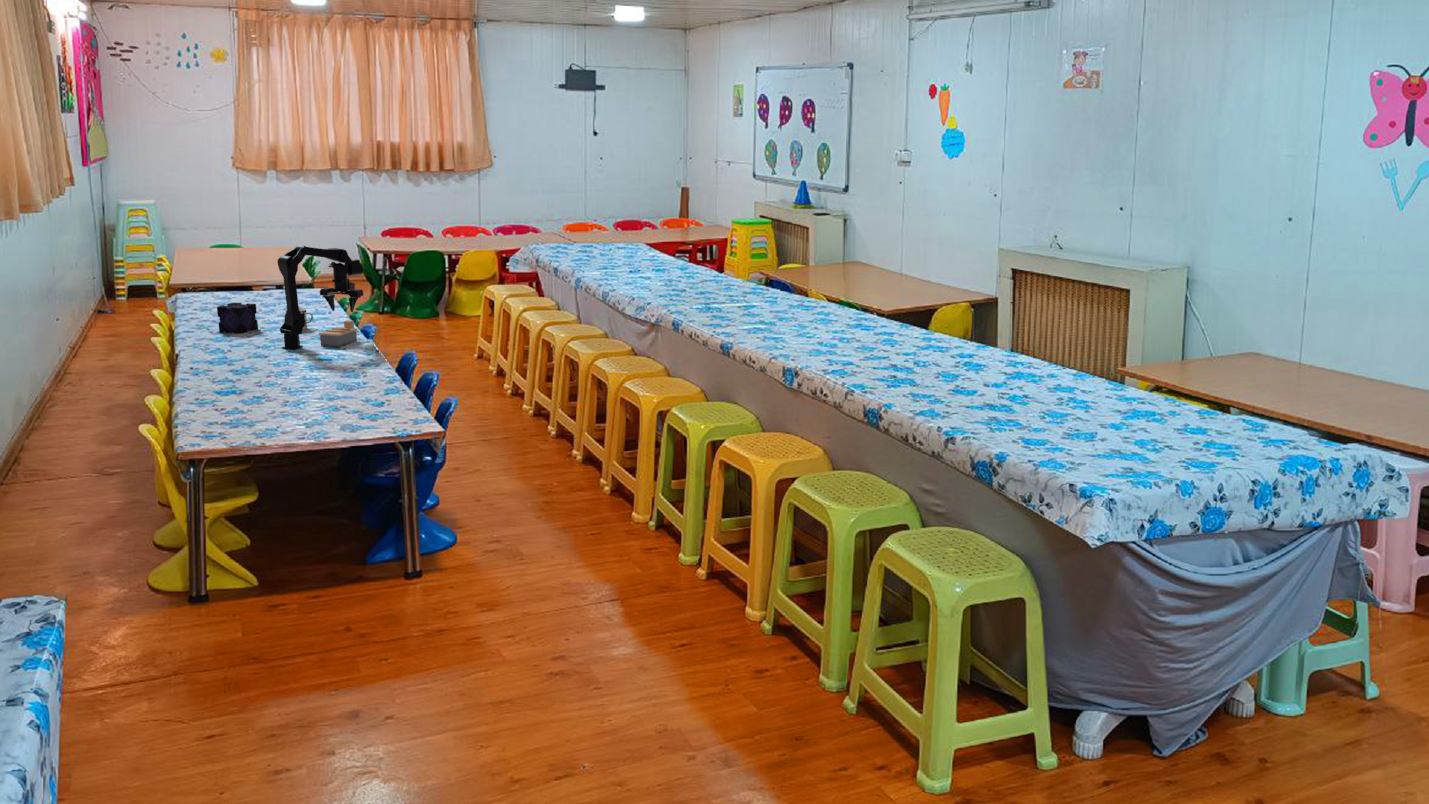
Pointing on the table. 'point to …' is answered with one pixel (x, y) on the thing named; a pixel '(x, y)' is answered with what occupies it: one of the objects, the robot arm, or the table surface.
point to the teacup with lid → (305, 317)
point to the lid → (340, 329)
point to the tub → (338, 340)
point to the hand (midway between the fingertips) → (342, 311)
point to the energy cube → (237, 318)
